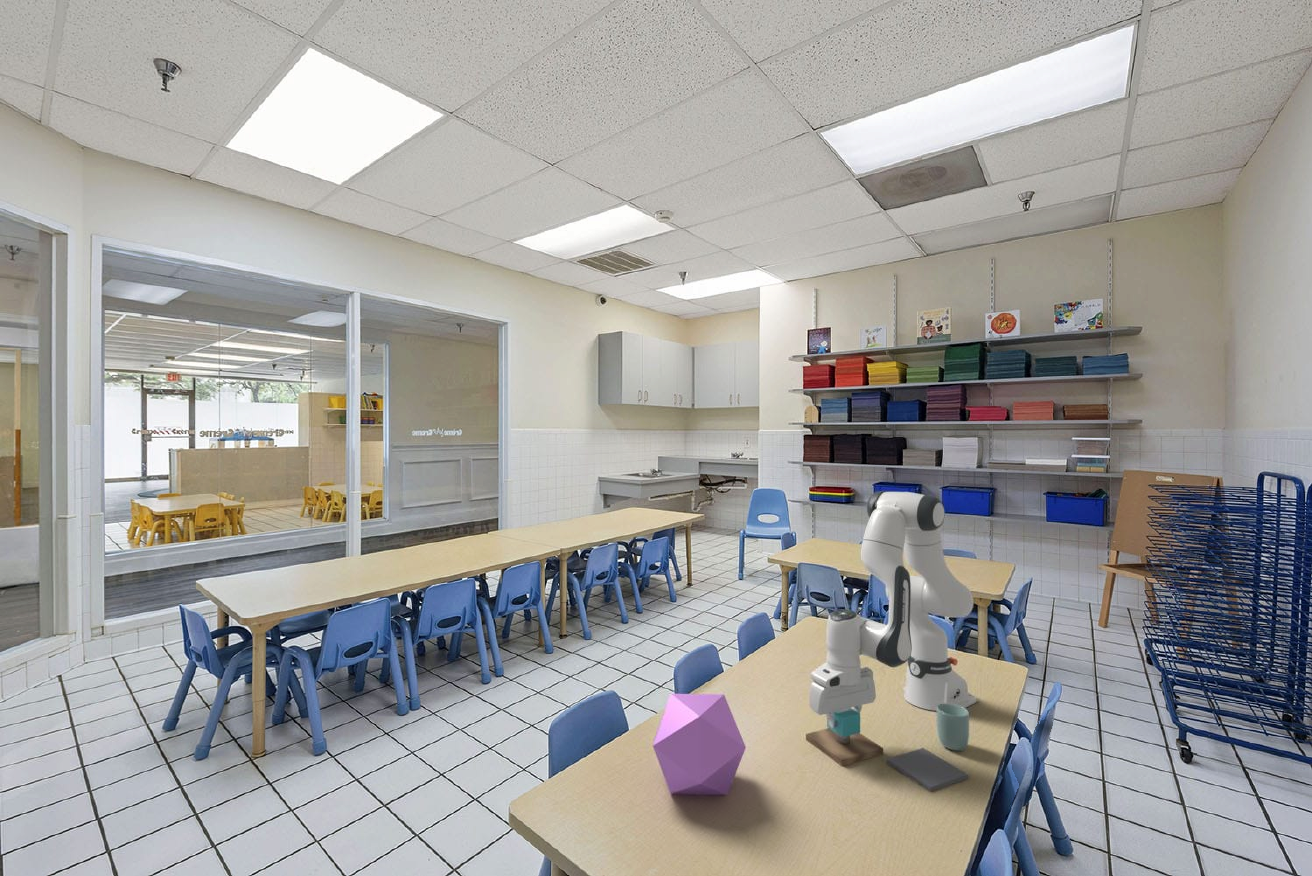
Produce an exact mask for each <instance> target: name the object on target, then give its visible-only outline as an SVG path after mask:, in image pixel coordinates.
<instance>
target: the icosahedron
mask: <svg viewBox="0 0 1312 876" xmlns="http://www.w3.org/2000/svg"><path fill="white" fill-rule="evenodd" d="M653 740H654V741H653V744H652V748H653V750H654V753H655V755H656V758H657V760H658V764H659V766H660V769H661V771H662V774H663V777H664V780H665V782H666V786H667V788H668V790H669V793H670V794H671V795H704V796H705V795H707V796H709V795H710V796H711V795H712V796H715V795H717V796H728V793H729V791H730V788H731V786H732V784H733V781H734V779H735V776H736V774H737V771H738V769H739V766H740V763H741V761H742V758H743V755H744V754H745V753H744V752H745V751H746V748H747V747H746V744H745V743H744V739H743V737H742V735H741V732H740V729H739V727H738V725H737V723H736V720H735V717H734V715H733V713H732V710H731V708H730V706H729V704H728V700H727V699H726V695H725V694H723V693H722V694H721V693H718V694H717V693H714V694H713V693H709V694H708V693H670V695H669V698H668V701H667V703H666V705H665V709H664V711H663V714H662V717H661V720H660V722H659V726H658V728H657V730H656V733H655V736H654V739H653Z"/></svg>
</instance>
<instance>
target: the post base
mask: <svg viewBox="0 0 1312 876" xmlns="http://www.w3.org/2000/svg"><path fill="white" fill-rule="evenodd" d="M805 740H806V741H807V742H808V743H810V744H811V745H813V746H814V747H815V748H817V749H818V750H819V751H821V753H822V752H823V754H825V755H826V756H828V757H829V758H831V759H832V760H833V761H835V762H836V763H837V764H838V765H840V766H841V767H844V766H847V765H850V764H853V763H857V762H860V761H864V760H867V759H870V758H874V757H877V756H880V755H884V747H883V746H881V745H879V744H878V743H877V742H874V741H873V740H871V739H870V738H868V737H867V736H865V735H863V734H862V733H861V732H860V733H857V734H853V735H850V736H846V737H842V736H840V735H839V734H837V733H836V732H834V731H833V730H831V729H830V728H828V727H827V728H824V729H821V730H816V731H813V732H809V733H806V734H805Z"/></svg>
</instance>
